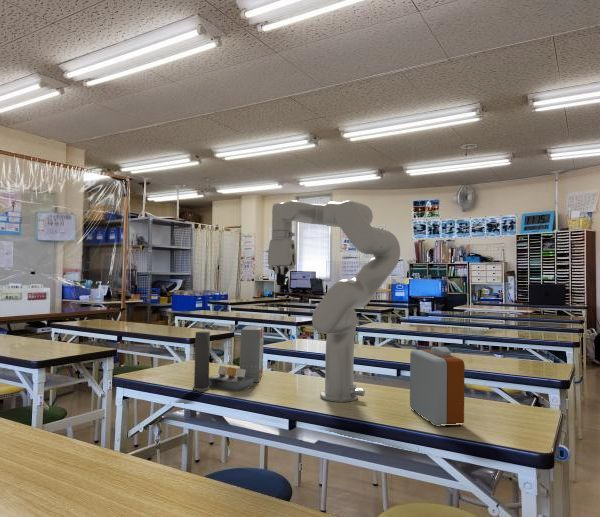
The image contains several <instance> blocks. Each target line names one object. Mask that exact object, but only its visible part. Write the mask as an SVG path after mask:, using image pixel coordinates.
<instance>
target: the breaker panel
mask: <svg viewBox="0 0 600 517" xmlns="http://www.w3.org/2000/svg"><path fill="white" fill-rule="evenodd" d="M253 381H254V378H251V377H244V378H243V379H237V376H234V377H233V378H231V377H228V375H225V376H220V375H219V374H216V375H213V376H209V388H210V387H212V388H215V389H216V388H217V389H223V390H229V391H234V392H235V391H236V392H241V391H244V390H247V389H249V388H248V387H250V388H251V386H252V387H254V382H253ZM246 388H247V389H246ZM243 389H244V390H243Z"/></svg>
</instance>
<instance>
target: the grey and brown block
mask: <svg viewBox="0 0 600 517" xmlns="http://www.w3.org/2000/svg"><path fill="white" fill-rule="evenodd" d="M409 358H410V361H409V362H410V363H409V366H410V367H409V408H410V407H411V408H412V409H413V410H415V411H416V412H417V413H419V414H420V415H422V416H423V417H425V418H426V419H428V420H429V421H430V422H432V423H433V424H435V425H441V424H456V423H465V370H466V369H465V361H464V360H463V359H462V358H459V357H455V356H454V355H451V351H450V349H449V348H448V347H447V346H432V347H431V348H430V349H413V350H411V351H410V357H409ZM411 408H410V409H411ZM412 409H411V410H412ZM413 410H412V411H413ZM416 412H415V413H416ZM417 413H416V414H417ZM420 415H419V416H420ZM423 417H422V418H423Z"/></svg>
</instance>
